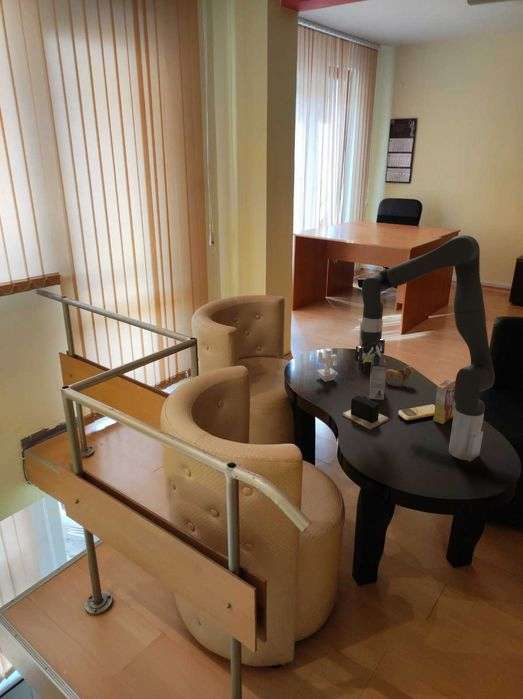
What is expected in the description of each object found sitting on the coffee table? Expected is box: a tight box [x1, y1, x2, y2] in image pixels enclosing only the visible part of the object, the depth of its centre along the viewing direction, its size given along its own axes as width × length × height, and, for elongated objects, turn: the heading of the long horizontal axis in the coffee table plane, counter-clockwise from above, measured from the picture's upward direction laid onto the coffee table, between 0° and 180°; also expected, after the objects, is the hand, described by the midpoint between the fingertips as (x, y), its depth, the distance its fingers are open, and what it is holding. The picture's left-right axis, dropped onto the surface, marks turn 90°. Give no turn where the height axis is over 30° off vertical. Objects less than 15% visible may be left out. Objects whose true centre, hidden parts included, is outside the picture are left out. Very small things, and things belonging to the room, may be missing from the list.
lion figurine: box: [386, 365, 415, 388], centre depth 226 cm, size 15×5×9 cm, turn 79°
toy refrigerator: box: [358, 317, 375, 363], centre depth 249 cm, size 8×7×21 cm
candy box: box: [433, 378, 456, 425], centre depth 195 cm, size 9×4×15 cm, turn 133°
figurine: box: [316, 347, 339, 383], centre depth 230 cm, size 7×9×15 cm
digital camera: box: [350, 395, 380, 423], centre depth 197 cm, size 10×5×7 cm, turn 43°
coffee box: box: [368, 356, 388, 401], centre depth 215 cm, size 9×6×16 cm
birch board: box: [342, 409, 389, 430], centre depth 199 cm, size 14×11×1 cm
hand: (368, 368), depth 191 cm, fingers open, 8 cm apart
